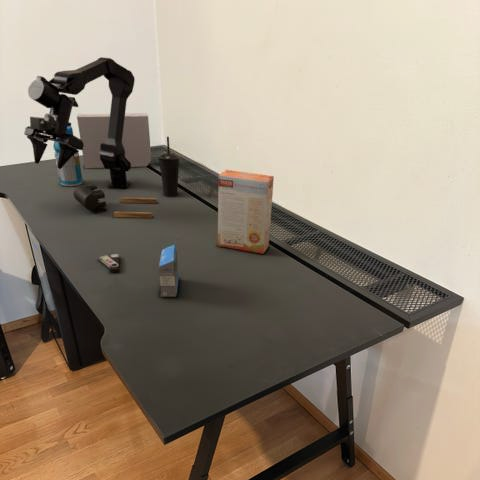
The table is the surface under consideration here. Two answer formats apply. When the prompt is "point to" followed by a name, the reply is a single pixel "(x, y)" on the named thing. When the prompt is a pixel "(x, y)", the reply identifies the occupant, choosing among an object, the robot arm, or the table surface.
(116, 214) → the brown flat block
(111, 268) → the usb flash drive
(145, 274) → the table surface
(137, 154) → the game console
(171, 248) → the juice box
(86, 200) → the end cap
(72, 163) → the beverage bottle
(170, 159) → the drinking cup
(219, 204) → the cracker box
